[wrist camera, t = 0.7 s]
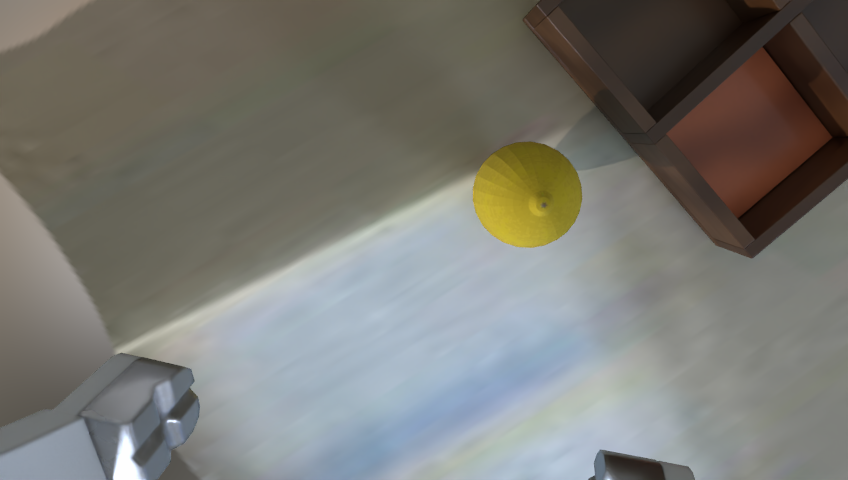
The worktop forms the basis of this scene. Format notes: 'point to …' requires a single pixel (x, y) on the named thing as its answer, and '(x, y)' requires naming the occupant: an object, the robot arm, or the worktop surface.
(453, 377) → the worktop surface
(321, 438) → the worktop surface
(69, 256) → the worktop surface
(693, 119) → the grid
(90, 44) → the worktop surface
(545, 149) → the lemon
